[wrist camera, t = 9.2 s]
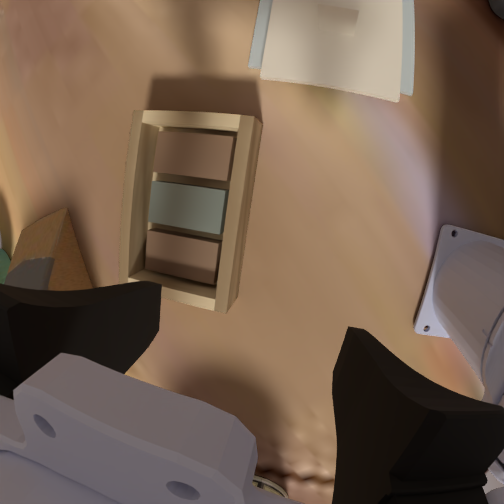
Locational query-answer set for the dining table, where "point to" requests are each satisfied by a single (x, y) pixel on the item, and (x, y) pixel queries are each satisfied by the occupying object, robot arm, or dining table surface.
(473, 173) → the dining table surface
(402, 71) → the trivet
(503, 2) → the storage bin
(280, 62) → the lid
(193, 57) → the dining table surface
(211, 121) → the box
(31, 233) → the sandwich container
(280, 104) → the dining table surface
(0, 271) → the cupcake
